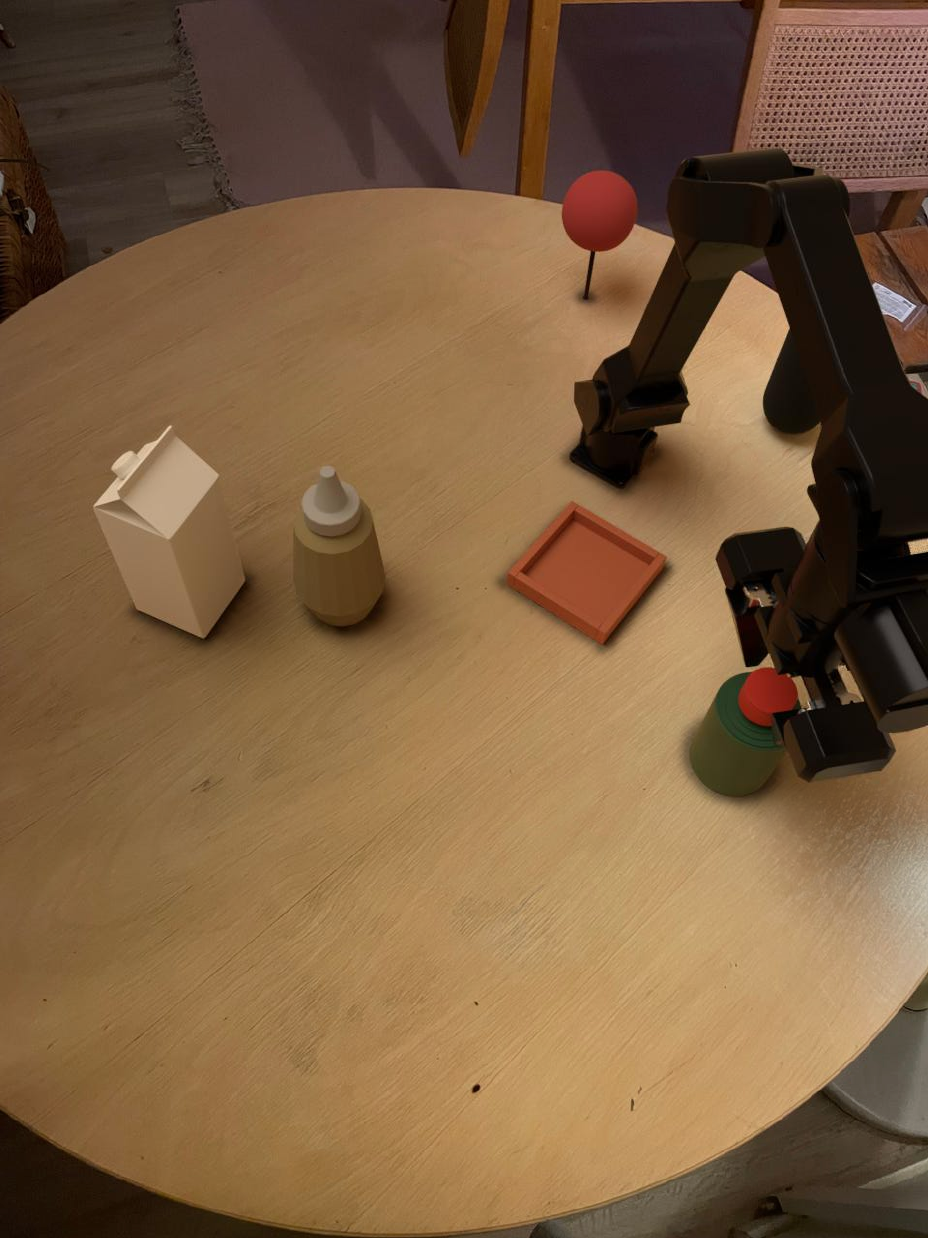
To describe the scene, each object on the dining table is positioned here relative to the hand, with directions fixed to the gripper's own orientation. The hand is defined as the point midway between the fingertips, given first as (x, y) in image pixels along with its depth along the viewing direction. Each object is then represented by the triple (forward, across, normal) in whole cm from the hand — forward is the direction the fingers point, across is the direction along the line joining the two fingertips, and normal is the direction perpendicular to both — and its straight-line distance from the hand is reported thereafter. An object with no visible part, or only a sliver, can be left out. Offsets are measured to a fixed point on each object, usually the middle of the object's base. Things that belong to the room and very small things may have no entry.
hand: (765, 703), depth 79 cm
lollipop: (+10, +57, -2) cm, 58 cm away
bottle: (+10, 0, 0) cm, 10 cm away
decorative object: (+10, +35, -18) cm, 41 cm away
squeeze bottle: (+10, +21, +30) cm, 38 cm away
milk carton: (+10, +24, +44) cm, 51 cm away
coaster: (+10, +20, +8) cm, 24 cm away
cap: (-2, 0, 0) cm, 2 cm away
